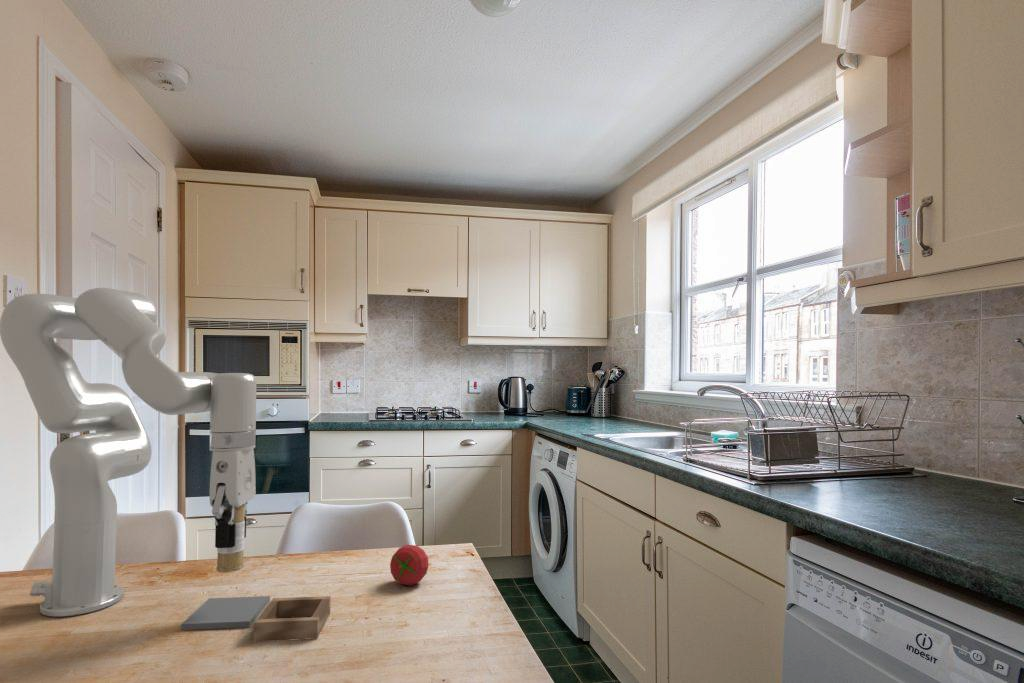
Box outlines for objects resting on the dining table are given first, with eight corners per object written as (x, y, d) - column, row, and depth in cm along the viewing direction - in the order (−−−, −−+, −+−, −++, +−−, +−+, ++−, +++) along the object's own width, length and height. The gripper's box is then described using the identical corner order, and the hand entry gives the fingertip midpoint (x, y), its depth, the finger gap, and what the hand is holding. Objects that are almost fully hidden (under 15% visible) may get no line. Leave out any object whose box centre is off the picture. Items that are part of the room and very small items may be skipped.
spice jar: (213, 568, 103) (215, 493, 104) (240, 563, 106) (242, 489, 107) (219, 575, 100) (221, 497, 100) (247, 569, 103) (248, 493, 103)
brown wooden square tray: (253, 641, 92) (254, 622, 93) (272, 615, 102) (273, 598, 102) (317, 638, 93) (317, 619, 94) (330, 613, 103) (330, 596, 104)
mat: (181, 630, 96) (181, 624, 97) (208, 603, 107) (209, 598, 107) (249, 627, 98) (249, 621, 98) (269, 601, 109) (269, 596, 109)
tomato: (416, 535, 123) (400, 538, 116) (441, 561, 120) (425, 566, 113) (392, 563, 123) (375, 568, 116) (416, 591, 120) (399, 597, 113)
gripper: (237, 446, 96) (235, 557, 95) (269, 435, 113) (267, 529, 112) (190, 447, 95) (187, 559, 94) (229, 436, 112) (227, 530, 111)
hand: (230, 541), depth 103 cm, fingers closed on spice jar, 4 cm apart
